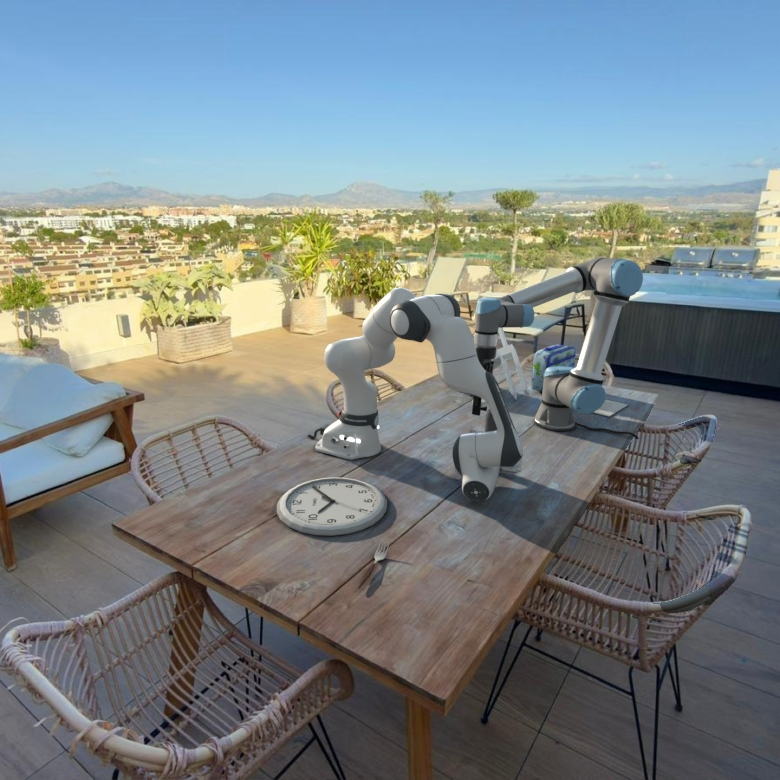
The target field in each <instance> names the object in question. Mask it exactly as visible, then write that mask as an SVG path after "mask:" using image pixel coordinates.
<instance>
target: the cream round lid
mask: <svg viewBox="0 0 780 780" xmlns="http://www.w3.org/2000/svg"><path fill="white" fill-rule="evenodd" d="M471 404H472V406H473V401H472V402H471ZM481 407H487V408H488V404H487V402H486V401H485V400H484V399H482V400H481Z"/></svg>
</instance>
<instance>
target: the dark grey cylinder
mask: <svg viewBox="0 0 780 780" xmlns="http://www.w3.org/2000/svg"><path fill="white" fill-rule="evenodd" d="M484 423H485V424H484V432H489V431H496V430H497V426H496V424H495V421H494V418H493V416H492V413H491V410H490V408H489V409H487V411H486V414H485V422H484Z"/></svg>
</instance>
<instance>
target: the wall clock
mask: <svg viewBox="0 0 780 780" xmlns="http://www.w3.org/2000/svg"><path fill="white" fill-rule="evenodd" d="M387 509H388V500H387V498H386V496H385V494H384V493H383V492H382V491H381V490H380V489H379V488H377V487H376V486H374V485H372V484H371V483H369V482H365V481H362V480H359V479H355V478H349V477H338V476H337V477H335V476H333V477H332V476H331V477H322V478H317V479H312V480H307V481H305V482H302V483H299V484H297V485H295V486H293V487H292V488H290V489H288V490H287V491H286V492H285V493H284V494H283V495H281V496H280V498H279V499H278V502H277V503H276V515H277V517H278V518H279V520H280V521H281V522H282V523H283V524H285V525H286V526H287V527H288V528H290V529H293V530H295V531H297V532H299V533H303V534H308V535H312V536H327V537H328V536H329V537H331V536H332V537H333V536H342V535H350V534H352V533H356V532H361V531H363V530H366V529H368V528H369V527H372V526H373V525H375V524H376V523H378V522H379V521H380V520H381V519H382V518H383V517H384V516H385V514H386V512H387Z"/></svg>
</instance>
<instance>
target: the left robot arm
mask: <svg viewBox="0 0 780 780" xmlns="http://www.w3.org/2000/svg"><path fill="white" fill-rule="evenodd" d="M361 326H362V327H361V329H362V330H361V331H362V335H360V336H356V337H350V338H349V337H348V338H342V339H338V340H337V341H333V342H332V343H329V344H328V345H327V346H326V347H325V349H324V353H323V361H324V364H325V366H326V368H327V369H328V370H329V371H330V373H331V374H334V376H336V378H338V380H339V382H340V385H341V387H342V394H343V406H342V407H341V408H340V410H339V411H338V412H337V415H336V417H337V418H338V419H337V420H335V421H334V422H332V423H331V424H328V423H327V424H325V425H323V426H321V427H319V428H317V429H315V430H314V433H313V435H311V434H308V435H307V437H308V438H310V439H315V438H316V437H317V435H318V432H320V433H319V434H320V435H321V436H322V438H321V439H319V440H318V441H317V443H316V444H315V448H314V449H315V451H316V452H318V453H324V454H327V455H331V456H334V457H338V458H342V459H346V460H349V461H353V460H357V459H360V458H368V457H369V458H370V457H372V456H375V455H377V454H379V453H380V452H381V451H382V445H381V443H380V438H379V430H378V429H380V425H379V417H380V416H379V409H378V389H377V386H375V384H374V383H373V382H371V381H369V380H367V379H366V374H365V373H366V371H369V370H373V369H378V368H381V367H384V366H386V365H388V364H390V363H391V362H393V360H394V358H395V355H396V345H395V341H396V340H397V339H398V338H399V339H400V340H401V339H402V340H406V341H412V342H416V343H419V344H420V343H423V342H424V341H425V340H427V341H428V342H429V343H430V344H431V346H433V351H434V357H435V362H436V363H435V364H436V367H437V373H438V375H439V378H440V381H442V383H443V384H444V385H445V386H446V387H448V388H450V389H452V390H453V391H456V392H460V393H464V394H469V395H470V394H472V395H476V396H478V397H480V398H482V399H484V400H485V401H486V402H487V406H488V408H489V409H490V410H491V413H492V416H493V418H494V421H495V424H496V426H497V430H496V431H489V432H485V431H480V432H471V433H470V432H469V433H462V434H459V436H458V437H457V438H456V440H455V441H454V443H453V447H452V461H453V465H454V472H455V474H457V475H460V476H461V480H462V481H461V490H462V495H464V497H465V498H466V499H467V500H469V501H471V502H474V503H483V502H485V501H487V500H488V499H489V498H491V496H492V495H493V493H494V491H495V488H496V485H497V480H498V478H499V474H500V473H502V474H509V475H516V474H518V473H521V472H522V469H523V468H522V464H523V456H524V454H523V453H524V448H523V442H522V440H521V438H520V435H519V434H518V432H517V430H516V428H515V425H514V423H513V420H512V417H511V415H510V412H509V409H508V407H507V404H506V401H505V398H504V396H503V392H502V390H501V388H500V386H499V383H498V381H497V379H496V377H495V376H494V374H492V373H490V372H487V371H486V370H485V369H484V368H483V367H482V366H481V364H480V362H479V360H478V357H477V352H476V347H475V343H474V337H473V334H472V331H471V328H470V326H469V323H468V322H467V320H465V319H464V318H462V317H461V306H460V303H459V302H458V300H457V298H455V297H454V296H453V295H450V294H447V293H435V294H428V295H427V294H426V295H422V296H418V297H416V296H415V294H414V293H413V292H412V291H410V290H409V289H407V288H405V287H395V288H393V289H392V290H390V291H389V292H387V294H385V295H384V296H383V297H382V298H381V299H380V300H379V301H378V302H377V304H376V305H375V306H374V307H373V309H372V310H371V311H370V313H369V314H368V315H367V316H366V317H365V319H364V320H363V323H362V325H361Z"/></svg>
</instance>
